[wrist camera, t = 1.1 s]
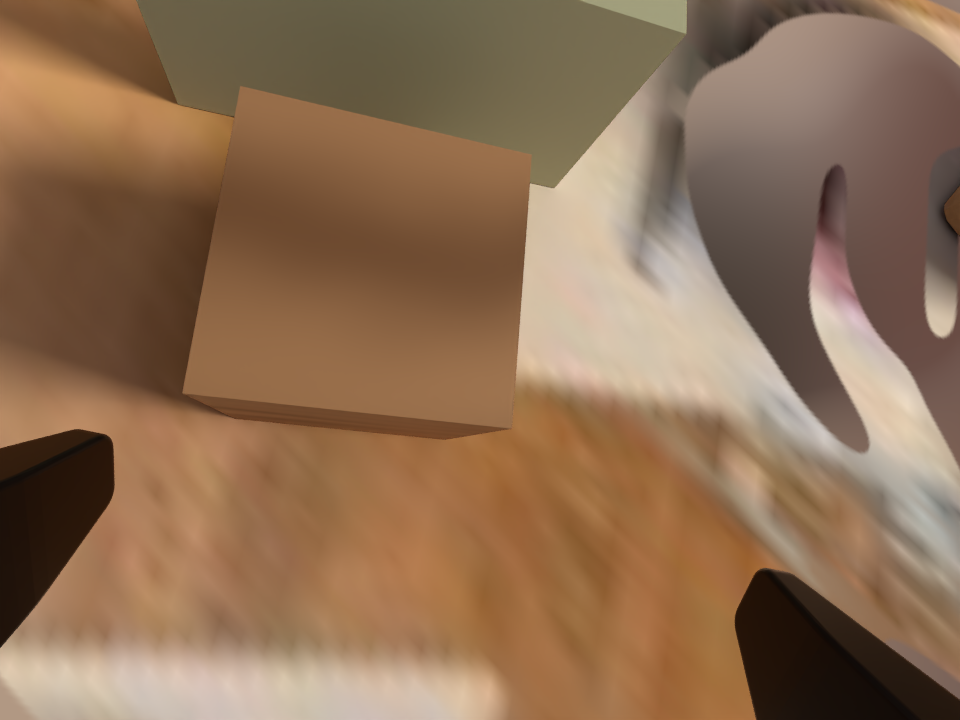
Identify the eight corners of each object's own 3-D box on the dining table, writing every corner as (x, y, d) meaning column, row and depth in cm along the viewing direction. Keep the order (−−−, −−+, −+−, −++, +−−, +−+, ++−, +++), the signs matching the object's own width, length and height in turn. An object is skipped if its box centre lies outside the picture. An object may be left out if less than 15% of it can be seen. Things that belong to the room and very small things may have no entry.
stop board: (554, 188, 26) (686, 33, 17) (178, 104, 22) (72, -160, 13) (556, 149, 27) (687, -23, 17) (187, 60, 23) (91, -228, 13)
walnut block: (445, 439, 23) (512, 428, 15) (235, 418, 21) (182, 393, 13) (462, 254, 25) (531, 154, 17) (268, 219, 23) (240, 85, 15)
